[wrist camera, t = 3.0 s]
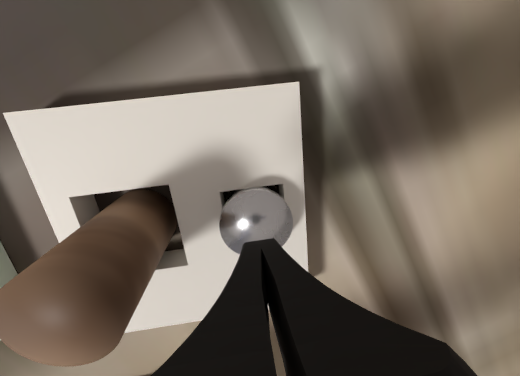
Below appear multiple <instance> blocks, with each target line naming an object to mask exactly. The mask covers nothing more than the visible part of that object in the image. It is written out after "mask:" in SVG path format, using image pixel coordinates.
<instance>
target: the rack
mask: <svg viewBox="0 0 520 376" xmlns="http://www.w3.org/2000/svg"><path fill="white" fill-rule="evenodd" d="M17 275H18V274H17V272H16V270H15V268H14V266H13V264H12V262H11V261H10V259H9V257H8V255H7V253H6V251H5V249H4V247H3V245H2V243H1V241H0V289H1V288H2V287H3V286H4V285H5V284H6V283H8V282H9V281H10V280H12V279H13V278H14V277H15V276H17ZM0 340H1V339H0Z"/></svg>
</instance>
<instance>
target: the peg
mask: <svg viewBox="0 0 520 376" xmlns="http://www.w3.org/2000/svg"><path fill="white" fill-rule="evenodd" d="M176 227H177V216H176V212H175V208H174V206H173V205H172V203H171V202H170V201H169V200H168V199H167V198H166V197H165V196H163V195H162V194H160V193H158V192H155V191H152V190H147V189H136V190H132V191H129V192H127V193H125V194H123V195H122V196H121V197H119V198H118V199H117V200H115V201H114V202H113V203H111V204H110V205H109V206H108V207H106V208H105V209H104V210H102V211H101V212H100V213H98V214H97V215H96V216H94V217H93V218H92V219H90V220H89V221H88V222H87V223H85V224H84V225H83V226H81V227H80V228H79V229H77V230H76V231H75V232H73V233H72V234H71V235H69V236H68V237H67V238H65V239H64V240H63V241H62V242H60V243H59V244H58V245H56V246H55V247H54V248H52V249H51V250H50V251H48V252H47V253H46V254H44V255H43V256H42V257H40V258H39V259H38V260H37V261H35V262H34V263H33V264H31V265H30V266H29V267H27V268H26V269H25V270H23V271H22V272H21V273H19V274H18V275H17V276H15V277H14V278H13V279H12V280H10V281H9V282H8V283H6V284H5V285H4V286H3V287H2V288H1V289H0V339H1V340H2V341H3V342H4V343H5V344H6V345H7V346H8V347H9V348H10V349H12V350H13V351H15V352H16V353H18V354H20V355H21V356H23V357H25V358H28V359H30V360H32V361H36V362H39V363H42V364H47V365H53V366H79V365H84V364H88V363H92V362H95V361H97V360H99V359H101V358H103V357H105V356H106V355H108V354H109V353H110V352H112V351H113V350H114V348H115V347H116V346H117V345H118V343H119V342H120V340H121V338H122V336H123V334H124V332H125V330H126V328H127V326H128V324H129V322H130V320H131V318H132V316H133V314H134V312H135V310H136V308H137V306H138V304H139V302H140V300H141V298H142V296H143V294H144V292H145V290H146V288H147V286H148V284H149V282H150V280H151V278H152V276H153V274H154V272H155V270H156V268H157V266H158V264H159V262H160V260H161V258H162V256H163V254H164V252H165V250H166V248H167V246H168V244H169V242H170V240H171V238H172V235H173V233H174V231H175V229H176Z"/></svg>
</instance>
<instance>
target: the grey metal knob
mask: <svg viewBox="0 0 520 376" xmlns="http://www.w3.org/2000/svg"><path fill="white" fill-rule="evenodd" d="M292 228H293V217H292V213H291V210H290V208H289V206H288V205H287V203H286V201H285V200H284V199H283V198H282V197H281V196H280V195H279V194H278V193H276V192H275V191H273V190H270V189H269V188H267V187H266V186H262V187H250V188H246V189H239V190H236V191H235V192H234V193H233V195H232V196H231V197H230V198H229V199H228V200H227V202H226V203H225V205H224V206H223V208H222V211H221V215H220V222H219V229H220V234H221V237H222V239H223V241H224V242H225V244H226V245H227V246H228V247H229V248H230V249H231V250H233V251H234V252H236V253H238V254H240V253H241V250H242V245H243V244H244V243H245V242H251V241H258V240H264V239H271V238H274V239H275V240H277V242H278V243H279V244H280V245H281V247H282V246H283V245H284V244H285V243H286V242H287V240H288V239H289V237H290V235H291V232H292Z"/></svg>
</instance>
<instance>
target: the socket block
mask: <svg viewBox="0 0 520 376" xmlns="http://www.w3.org/2000/svg"><path fill="white" fill-rule="evenodd" d="M3 114H4V117H5V119H6V121H7V124H8V126H9V128H10V131H11V133H12V135H13V137H14V140H15V142H16V144H17V147H18V149H19V151H20V154H21V156H22V158H23V160H24V163H25V165H26V167H27V170H28V172H29V174H30V177H31V179H32V181H33V184H34V186H35V188H36V190H37V193H38V195H39V197H40V200H41V202H42V204H43V207H44V209H45V211H46V214H47V216H48V218H49V220H50V223H51V225H52V227H53V230H54V232H55V234H56V237H57V239H58V241H59V243H60V242H62V241H63V240H64V239H65V238H67V237H68V236H69V235H71V234H72V233H73V232H75V231H76V230H77V229H79V228H80V227H81V226H83V225H84V224H85V223H87V222H88V221H89V220H90V219H92V218H93V217H94V216H96V215H97V214H98V213H100V211H99V208H98V205H97V202H96V200H95V197H94V194H99V193H106V192H114V191H122V190H130V189H138V188H145V187H153V186H161V185H169V187H170V192H171V196H172V200H173V204H174V208H175V212H176V216H177V221H178V225H179V229H180V233H181V237H182V241H183V245H184V249H178V250H171V251H165V252H164V254H163V256H162V258H161V260H160V262H159V264H158V266H157V268H156V270H155V272H154V274H153V276H152V278H151V280H150V282H149V284H148V286H147V288H146V290H145V292H144V294H143V296H142V298H141V300H140V302H139V304H138V306H137V308H136V310H135V312H134V314H133V316H132V318H131V320H130V322H129V324H128V326H127V328H126V330H125V332H124V333H127V332H133V331H139V330H145V329H151V328H158V327H164V326H170V325H176V324H182V323H188V322H195V321H201V320H203V318H204V317H205V316H206V315H207V313H208V312H209V310H210V309H211V308H212V306H213V305H214V303H215V302H216V300H217V299H218V297H219V296H220V294H221V292H222V291H223V289H224V287H225V285H226V283H227V282H228V280H229V278H230V276H231V274H232V272H233V270H234V268H235V266H236V263H237V261H238V258H239V256H240V254H238V253H236V252H234V251H233V250H231V249H230V248H229V247H228V246H227V245H226V244H225V242H224V241H223V239H222V237H221V234H220V229H219V222H220V215H221V211H222V208H223V206H224V205H225V200H224V194H223V192H224V191H231V190H239V189H246V188H250V187H262V186H269V185H277V184H278V189H279V195H280V196H281V197H282V198H283V199H284V200H285V201H286V203H287V205H288V206H289V208H290V210H291V213H292V217H293V228H292V232H291V235H290V237H289V239H288V240H287V242H286V243H285V244H284V245H283V246H282V248H283V249H284V250H285V251H286V252H287V253H288V254H289V255H290V256H291V257H292V258H293V259H294V260H295V261H296V262H297V263H298V264H299V265H300V266H301V267H303V268H304V269H305V270H306V271H307V272H308V255H307V234H306V213H305V192H304V172H303V151H302V130H301V110H300V89H299V82H291V83H281V84H272V85H262V86H253V87H244V88H234V89H225V90H215V91H206V92H197V93H187V94H178V95H169V96H159V97H150V98H140V99H131V100H122V101H112V102H103V103H94V104H84V105H75V106H65V107H56V108H47V109H37V110H28V111H19V112H9V113H3ZM268 310H269V306H268Z"/></svg>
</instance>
